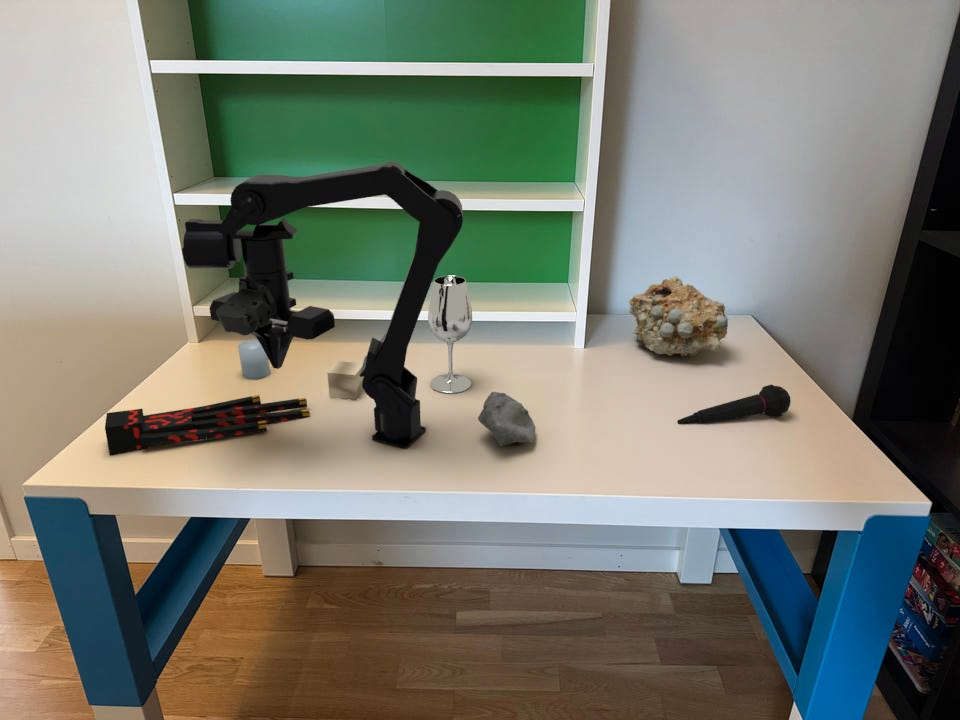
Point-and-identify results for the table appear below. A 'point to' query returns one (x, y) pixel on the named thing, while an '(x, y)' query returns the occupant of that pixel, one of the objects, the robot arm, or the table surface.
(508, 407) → the grey stone
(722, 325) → the rock
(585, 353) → the table surface
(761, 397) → the microphone
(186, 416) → the toy
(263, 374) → the grey cylinder
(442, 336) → the wineglass
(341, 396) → the beech cube
